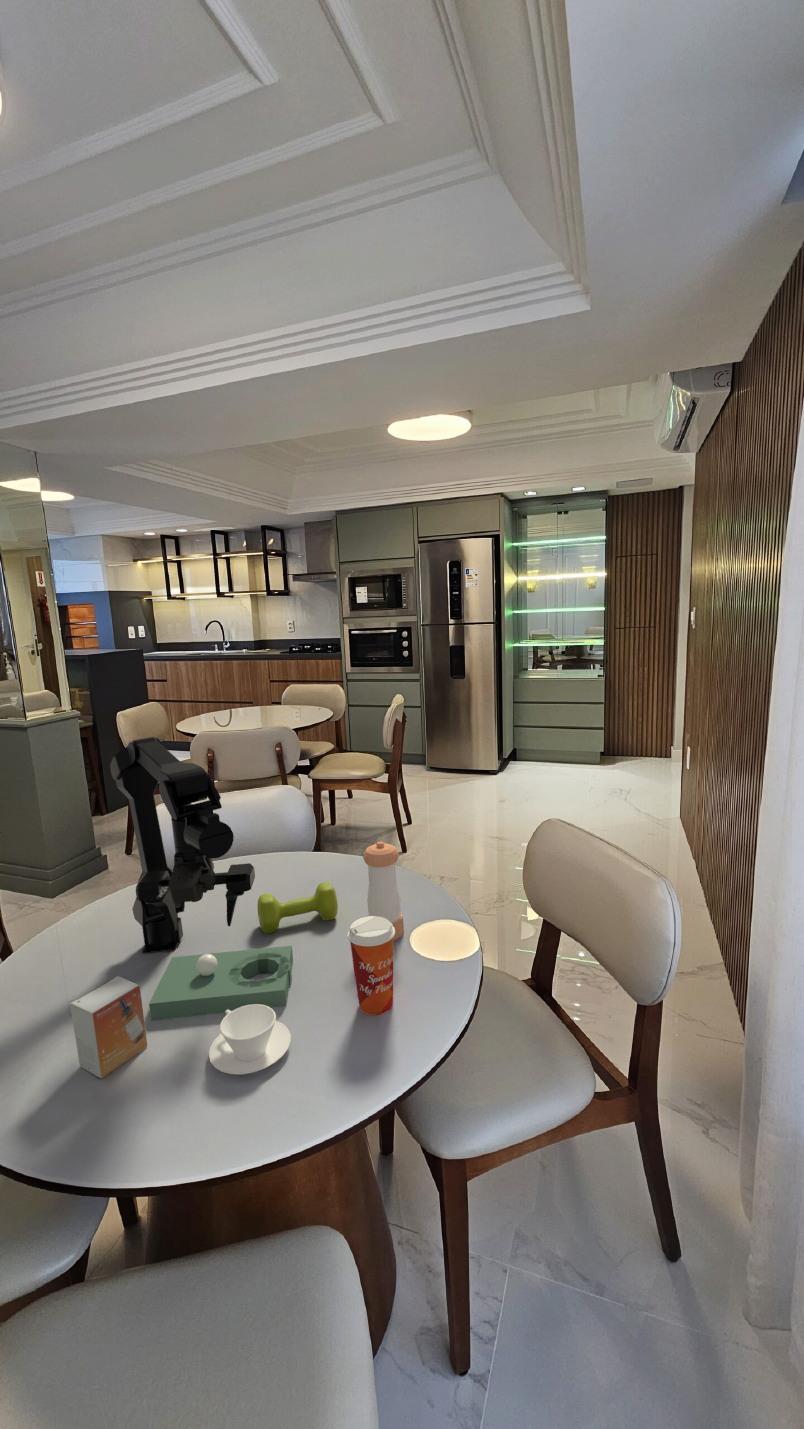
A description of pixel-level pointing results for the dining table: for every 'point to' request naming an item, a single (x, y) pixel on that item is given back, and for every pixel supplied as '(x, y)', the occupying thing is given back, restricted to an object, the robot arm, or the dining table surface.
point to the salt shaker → (384, 885)
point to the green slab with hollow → (223, 983)
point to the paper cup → (373, 963)
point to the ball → (206, 965)
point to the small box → (109, 1026)
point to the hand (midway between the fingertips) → (202, 927)
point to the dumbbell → (297, 907)
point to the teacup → (249, 1040)
